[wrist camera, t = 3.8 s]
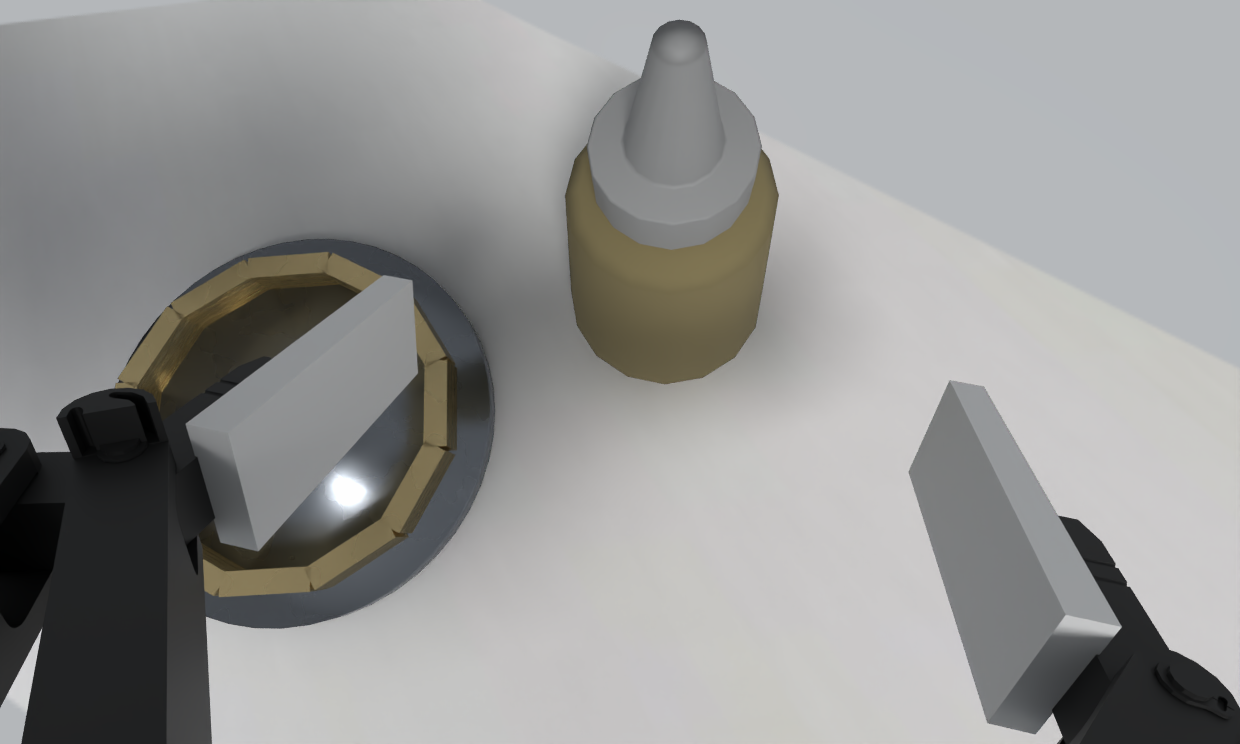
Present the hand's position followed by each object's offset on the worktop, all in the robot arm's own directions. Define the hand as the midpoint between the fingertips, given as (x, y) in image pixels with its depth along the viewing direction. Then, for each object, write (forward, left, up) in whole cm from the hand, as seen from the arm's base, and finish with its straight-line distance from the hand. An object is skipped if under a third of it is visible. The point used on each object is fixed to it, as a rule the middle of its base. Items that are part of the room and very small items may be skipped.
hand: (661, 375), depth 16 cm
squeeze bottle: (-2, +6, -14) cm, 15 cm away
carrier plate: (-15, -6, -14) cm, 22 cm away
